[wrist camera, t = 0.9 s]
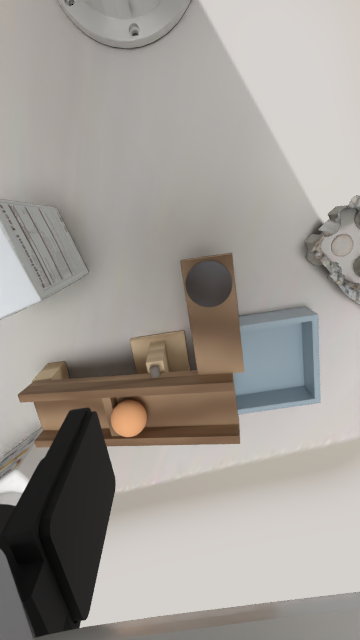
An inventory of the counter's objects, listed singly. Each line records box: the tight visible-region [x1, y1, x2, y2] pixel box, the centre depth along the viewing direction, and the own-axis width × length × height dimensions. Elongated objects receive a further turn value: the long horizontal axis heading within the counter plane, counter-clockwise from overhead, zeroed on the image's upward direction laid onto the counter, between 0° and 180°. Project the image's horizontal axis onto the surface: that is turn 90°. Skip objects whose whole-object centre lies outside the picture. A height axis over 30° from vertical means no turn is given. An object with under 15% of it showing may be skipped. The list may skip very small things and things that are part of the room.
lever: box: [18, 253, 244, 448], centre depth 28 cm, size 17×21×3 cm
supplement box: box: [0, 199, 89, 320], centre depth 26 cm, size 7×7×13 cm
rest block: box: [32, 361, 70, 382], centre depth 35 cm, size 6×2×4 cm, turn 9°
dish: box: [233, 306, 321, 415], centre depth 34 cm, size 10×10×4 cm
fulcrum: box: [130, 330, 190, 374], centre depth 33 cm, size 9×6×6 cm, turn 9°
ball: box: [111, 400, 147, 437], centre depth 28 cm, size 3×3×3 cm
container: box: [0, 428, 50, 534], centre depth 33 cm, size 8×8×13 cm
